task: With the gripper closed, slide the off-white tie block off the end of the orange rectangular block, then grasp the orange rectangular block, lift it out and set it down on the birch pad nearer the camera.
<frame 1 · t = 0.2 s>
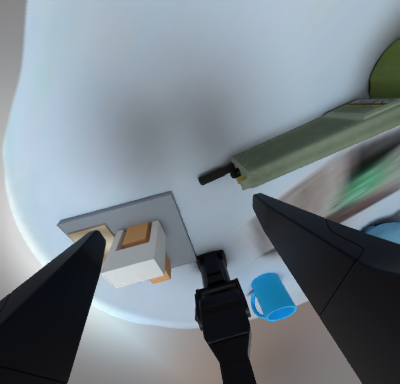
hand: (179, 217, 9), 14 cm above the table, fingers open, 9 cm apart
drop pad: (113, 257, 29), resting on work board
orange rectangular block: (151, 246, 29), point 1 cm above the table, touching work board
handheld radio: (272, 144, 23), on the table
decorative pot: (369, 237, 41), on the table
tie block: (138, 251, 23), point 5 cm above the table, slide at 0.0 cm
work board: (140, 241, 29), on the table
mug: (259, 283, 46), on the table
plant pot: (392, 69, 20), on the table
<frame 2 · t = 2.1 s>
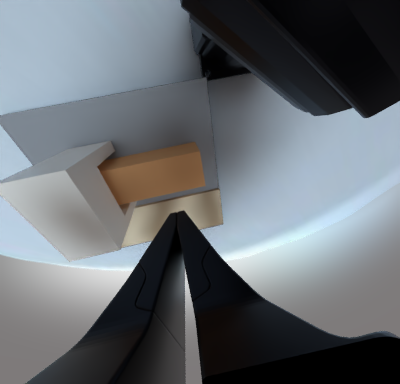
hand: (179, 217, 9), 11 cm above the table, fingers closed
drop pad: (163, 219, 21), resting on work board
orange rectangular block: (144, 168, 17), point 1 cm above the table, touching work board
tie block: (91, 195, 13), point 5 cm above the table, slide at 0.0 cm
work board: (143, 182, 19), on the table
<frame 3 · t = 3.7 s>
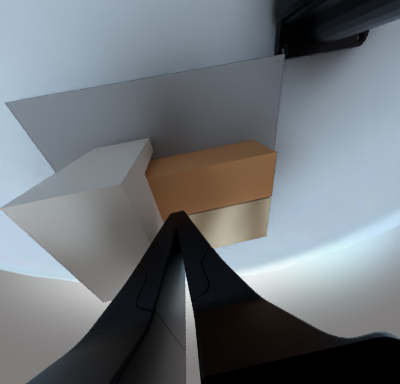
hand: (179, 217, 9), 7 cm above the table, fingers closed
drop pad: (200, 231, 18), resting on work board
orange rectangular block: (187, 172, 14), point 1 cm above the table, touching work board
tie block: (129, 209, 10), point 5 cm above the table, slide at 0.2 cm, touching gripper
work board: (180, 188, 15), on the table
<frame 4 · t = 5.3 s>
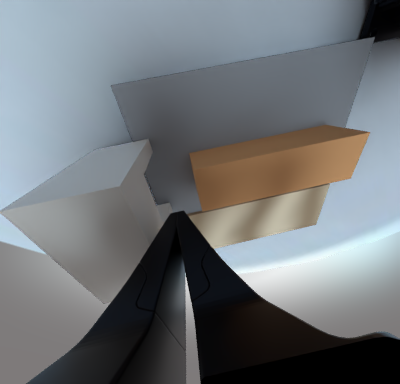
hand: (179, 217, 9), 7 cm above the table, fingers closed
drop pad: (254, 219, 18), resting on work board
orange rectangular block: (257, 158, 14), point 1 cm above the table, touching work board
tie block: (128, 210, 10), point 5 cm above the table, slide at 6.8 cm, touching gripper
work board: (243, 175, 16), on the table
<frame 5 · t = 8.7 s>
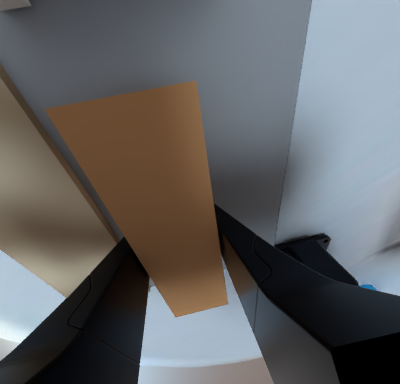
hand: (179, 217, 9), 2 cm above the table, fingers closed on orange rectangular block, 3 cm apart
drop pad: (58, 233, 9), resting on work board
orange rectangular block: (178, 206, 10), point 1 cm above the table, touching gripper, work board
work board: (144, 192, 10), on the table
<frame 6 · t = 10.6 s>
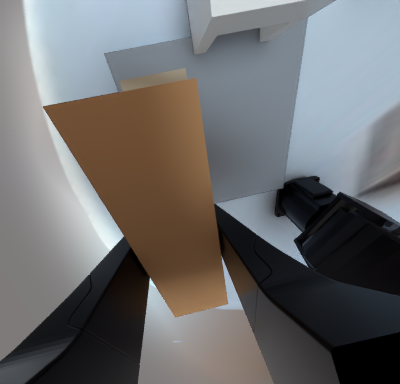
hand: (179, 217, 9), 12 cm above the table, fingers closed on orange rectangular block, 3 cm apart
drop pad: (175, 157, 18), resting on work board
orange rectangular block: (178, 206, 10), point 11 cm above the table, touching gripper
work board: (217, 138, 19), on the table
when the fingers open (3 cm above the table, at t = 12.4 s): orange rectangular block drops 1 cm, resting on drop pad.
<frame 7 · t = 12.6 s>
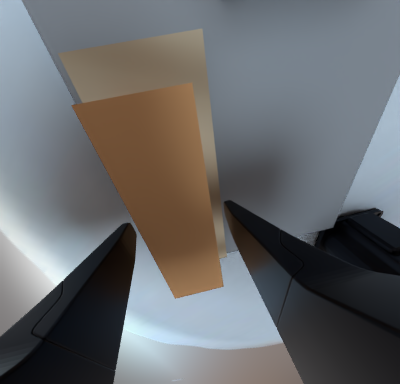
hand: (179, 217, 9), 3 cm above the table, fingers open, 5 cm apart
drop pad: (177, 194, 11), resting on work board
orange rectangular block: (178, 196, 11), point 1 cm above the table, touching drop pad
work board: (245, 160, 11), on the table
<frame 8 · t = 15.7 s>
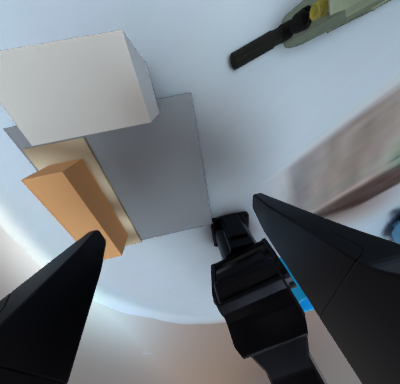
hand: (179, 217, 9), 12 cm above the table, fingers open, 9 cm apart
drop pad: (96, 204, 20), resting on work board
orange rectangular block: (95, 206, 19), point 1 cm above the table, touching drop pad
tie block: (100, 95, 11), point 5 cm above the table, slide at 6.8 cm
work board: (137, 185, 20), on the table
mug: (280, 267, 38), on the table
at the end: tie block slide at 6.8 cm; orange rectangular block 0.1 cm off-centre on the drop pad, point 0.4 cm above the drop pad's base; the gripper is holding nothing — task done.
